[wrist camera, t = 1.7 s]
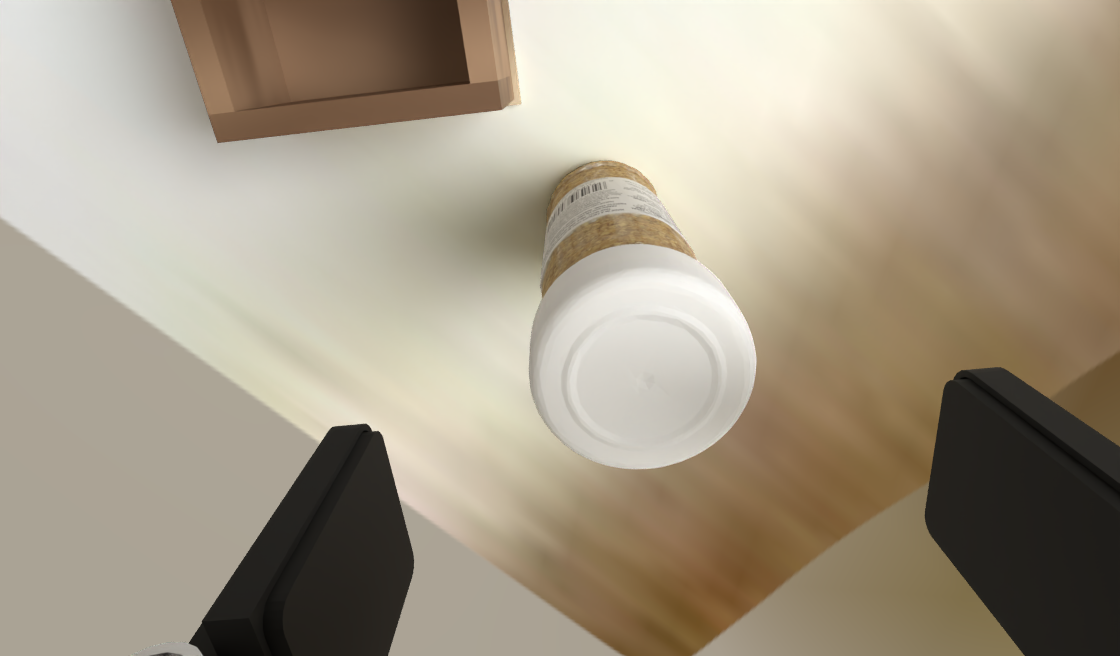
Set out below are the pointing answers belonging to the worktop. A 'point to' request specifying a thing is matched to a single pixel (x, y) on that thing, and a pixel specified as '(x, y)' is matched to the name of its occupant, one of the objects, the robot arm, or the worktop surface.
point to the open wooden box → (346, 62)
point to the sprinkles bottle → (632, 328)
